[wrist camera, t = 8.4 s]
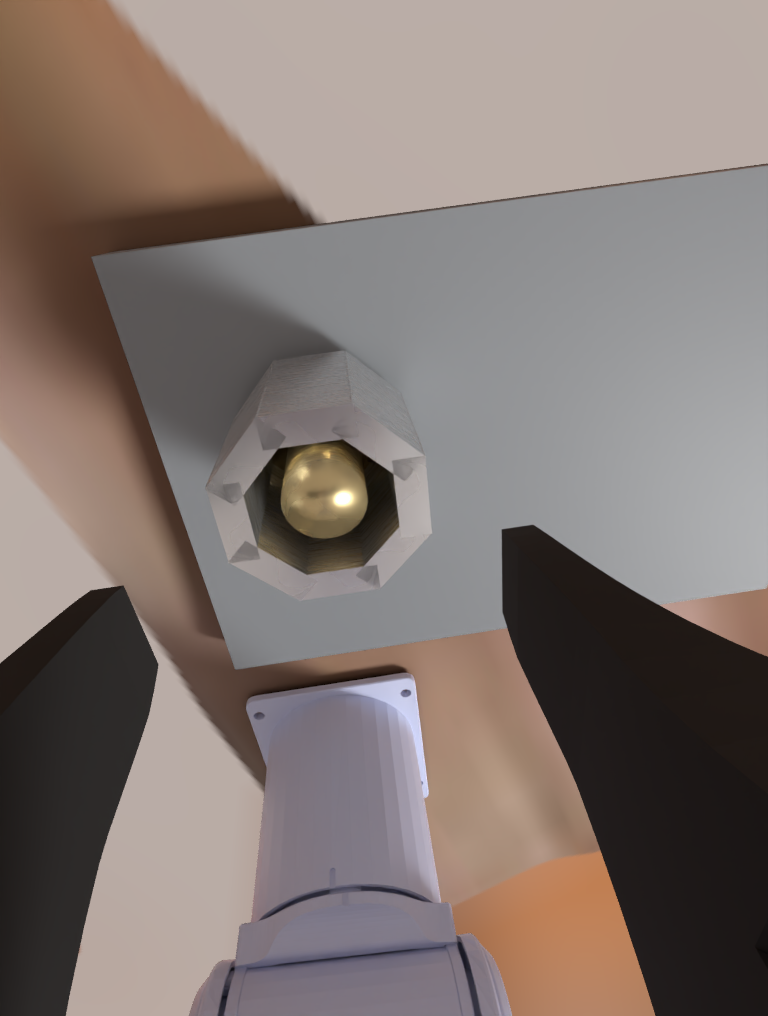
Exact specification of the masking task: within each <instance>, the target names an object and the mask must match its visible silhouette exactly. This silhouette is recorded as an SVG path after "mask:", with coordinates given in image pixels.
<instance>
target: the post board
mask: <svg viewBox="0 0 768 1016" xmlns="http://www.w3.org/2000/svg"><path fill="white" fill-rule="evenodd" d="M91 258H92V261H93V263H94V266H95V269H96V272H97V275H98V278H99V281H100V283H101V286H102V289H103V292H104V295H105V298H106V301H107V304H108V306H109V309H110V312H111V315H112V318H113V321H114V324H115V326H116V329H117V332H118V335H119V338H120V341H121V344H122V347H123V349H124V352H125V355H126V358H127V361H128V364H129V367H130V369H131V372H132V375H133V378H134V381H135V384H136V387H137V390H138V392H139V395H140V398H141V401H142V404H143V407H144V410H145V412H146V415H147V418H148V421H149V424H150V427H151V430H152V433H153V435H154V438H155V441H156V444H157V447H158V450H159V453H160V455H161V458H162V461H163V464H164V467H165V470H166V473H167V476H168V478H169V481H170V484H171V487H172V490H173V493H174V496H175V498H176V501H177V504H178V507H179V510H180V513H181V516H182V519H183V521H184V524H185V527H186V530H187V533H188V536H189V539H190V541H191V544H192V547H193V550H194V553H195V556H196V559H197V562H198V564H199V567H200V570H201V573H202V576H203V579H204V582H205V584H206V587H207V590H208V593H209V596H210V599H211V602H212V605H213V607H214V610H215V613H216V616H217V619H218V622H219V625H220V627H221V630H222V633H223V636H224V639H225V642H226V645H227V648H228V650H229V653H230V656H231V659H232V662H233V665H234V668H235V670H237V669H244V668H250V667H257V666H263V665H270V664H276V663H283V662H289V661H296V660H302V659H309V658H315V657H322V656H329V655H335V654H342V653H348V652H355V651H361V650H368V649H374V648H381V647H387V646H394V645H400V644H407V643H413V642H420V641H426V640H433V639H439V638H446V637H452V636H459V635H465V634H472V633H478V632H485V631H491V630H498V629H504V628H507V625H506V622H505V619H504V615H503V612H502V529H507V528H514V527H520V526H527V525H535V526H536V527H538V528H539V529H541V530H542V531H544V532H545V533H547V534H548V535H550V536H551V537H553V538H554V539H555V540H557V541H558V542H560V543H561V544H563V545H564V546H566V547H567V548H568V549H570V550H571V551H573V552H574V553H576V554H577V555H579V556H580V557H582V558H583V559H585V560H586V561H588V562H589V563H591V564H592V565H594V566H595V567H597V568H598V569H600V570H601V571H603V572H604V573H606V574H607V575H609V576H611V577H612V578H614V579H615V580H617V581H619V582H620V583H622V584H624V585H625V586H627V587H628V588H630V589H632V590H633V591H635V592H637V593H639V594H640V595H642V596H644V597H646V598H647V599H649V600H651V601H653V602H654V603H656V604H658V605H661V604H667V603H674V602H680V601H687V600H693V599H700V598H706V597H713V596H719V595H726V594H732V593H739V592H745V591H752V590H758V589H765V588H766V587H767V584H768V164H761V165H754V166H746V167H739V168H732V169H724V170H716V171H709V172H702V173H695V174H687V175H679V176H672V177H665V178H658V179H650V180H643V181H635V182H628V183H620V184H613V185H606V186H598V187H591V188H583V189H576V190H569V191H561V192H553V193H546V194H538V195H531V196H525V197H516V198H509V199H501V200H494V201H487V202H480V203H472V204H464V205H457V206H450V207H442V208H436V209H427V210H420V211H412V212H405V213H397V214H390V215H383V216H375V217H368V218H360V219H353V220H345V221H338V222H331V223H323V224H316V225H308V226H301V227H294V228H286V229H279V230H271V231H264V232H256V233H249V234H242V235H234V236H227V237H219V238H212V239H204V240H197V241H190V242H182V243H175V244H167V245H160V246H153V247H145V248H138V249H130V250H123V251H115V252H109V253H105V254H101V255H97V256H92V257H91ZM342 350H346V351H347V352H349V353H350V354H351V355H352V356H354V357H355V358H356V359H358V360H359V361H360V362H362V363H363V364H364V365H366V366H367V367H368V368H370V369H371V370H372V371H374V372H375V373H376V374H377V375H379V376H380V377H381V378H383V379H384V380H385V381H387V382H388V383H389V384H391V385H392V386H393V387H395V388H396V389H397V390H398V391H400V392H401V394H402V396H403V399H404V401H405V404H406V407H407V409H408V412H409V414H410V417H411V419H412V422H413V424H414V427H415V430H416V432H417V435H418V437H419V440H420V442H421V445H422V447H423V450H424V453H425V455H426V469H427V481H428V493H429V504H430V516H431V528H432V534H431V535H430V536H429V537H428V538H427V539H426V540H425V541H424V542H423V543H422V544H421V545H420V546H419V547H418V549H417V550H416V551H415V552H414V553H413V554H412V555H411V556H410V557H409V558H408V559H407V560H406V561H405V562H404V564H403V565H402V566H401V567H400V568H399V569H398V570H397V571H396V572H395V573H394V574H393V575H392V576H391V577H390V579H389V580H388V581H387V582H386V583H385V584H384V585H383V586H382V587H381V589H376V590H369V591H362V592H356V593H349V594H342V595H336V596H329V597H322V598H315V599H309V600H302V601H299V600H298V599H296V598H294V597H292V596H290V595H288V594H286V593H284V592H283V591H281V590H279V589H277V588H275V587H273V586H271V585H269V584H268V583H266V582H264V581H262V580H260V579H258V578H256V577H254V576H253V575H251V574H249V573H247V572H245V571H243V570H241V569H239V568H238V567H236V566H234V565H232V564H229V563H228V558H227V555H226V552H225V549H224V546H223V542H222V539H221V536H220V533H219V529H218V526H217V523H216V520H215V517H214V513H213V510H212V507H211V504H210V501H209V497H208V494H207V491H206V489H205V487H206V484H207V482H208V480H209V477H210V475H211V472H212V470H213V468H214V465H215V463H216V460H217V458H218V456H219V453H220V451H221V448H222V446H223V444H224V441H225V439H226V436H227V434H228V432H229V429H230V427H231V424H232V422H233V420H234V417H235V415H236V414H237V413H238V411H239V410H240V408H241V407H242V405H243V404H244V403H245V401H246V400H247V398H248V397H249V395H250V394H251V392H252V391H253V390H254V388H255V387H256V385H257V384H258V382H259V381H260V379H261V378H262V376H263V375H264V374H265V372H266V371H267V369H268V368H269V366H270V365H271V363H272V362H273V360H274V359H275V360H277V359H284V358H291V357H299V356H306V355H313V354H320V353H327V352H335V351H342ZM272 459H273V463H274V464H275V465H276V466H278V467H279V468H281V469H282V470H284V471H285V472H284V479H283V486H282V492H281V508H282V511H283V514H284V516H285V518H286V519H287V521H288V522H289V523H290V524H291V526H293V527H294V528H295V529H296V530H298V531H299V532H301V533H303V534H305V535H307V536H310V537H314V538H334V537H338V536H341V535H343V534H346V533H348V532H349V531H351V530H352V529H353V528H355V527H356V526H357V525H358V524H359V523H360V521H361V520H362V518H363V517H364V515H365V512H366V509H367V503H368V498H367V490H366V483H365V476H364V470H365V468H366V467H367V466H368V465H369V463H370V462H371V461H372V460H373V459H371V458H370V457H368V456H367V455H365V454H364V453H362V452H361V451H359V450H358V449H356V448H355V447H354V446H352V445H351V444H349V443H348V442H346V441H345V440H343V439H341V440H334V441H327V442H320V443H313V444H306V445H299V446H292V447H285V448H278V449H277V451H276V452H275V453H274V455H273V456H272Z"/></svg>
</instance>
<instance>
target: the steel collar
mask: <svg viewBox="0 0 768 1016" xmlns="http://www.w3.org/2000/svg"><path fill="white" fill-rule="evenodd" d="M341 439H343V440H345V441H346V442H348V443H349V444H351V445H352V446H354V447H355V448H356V449H358V450H359V451H361V452H362V453H364V454H365V455H367V456H368V457H370V458H371V459H373V460H372V461H371V462H370V463H369V465H368V466H367V467H366V468H365V470H364V476H365V483H366V490H367V498H368V503H367V509H366V512H365V515H364V517H363V518H362V520H361V521H360V523H359V524H358V525H357V526H356V527H355V528H353V529H352V530H351V531H349V532H348V533H346V534H343V535H341V536H338V537H334V538H314V537H310V536H307V535H305V534H303V533H301V532H299V531H298V530H296V529H295V528H294V527H293V526H291V524H290V523H289V522H288V521H287V519H286V518H285V516H284V514H283V511H282V508H281V492H282V486H283V479H284V472H285V471H284V470H282V469H281V468H279V467H278V466H276V465H275V464H274V463H273V459H272V456H273V455H274V453H275V452H276V451H277V449H278V448H285V447H292V446H299V445H306V444H313V443H320V442H327V441H334V440H341ZM205 489H206V491H207V494H208V497H209V501H210V504H211V507H212V510H213V513H214V517H215V520H216V523H217V526H218V529H219V533H220V536H221V539H222V542H223V546H224V549H225V552H226V555H227V558H228V563H229V564H232V565H234V566H236V567H238V568H239V569H241V570H243V571H245V572H247V573H249V574H251V575H253V576H254V577H256V578H258V579H260V580H262V581H264V582H266V583H268V584H269V585H271V586H273V587H275V588H277V589H279V590H281V591H283V592H284V593H286V594H288V595H290V596H292V597H294V598H296V599H298V600H299V601H302V600H309V599H315V598H322V597H329V596H336V595H342V594H349V593H356V592H362V591H369V590H376V589H381V587H382V586H383V585H384V584H385V583H386V582H387V581H388V580H389V579H390V577H391V576H392V575H393V574H394V573H395V572H396V571H397V570H398V569H399V568H400V567H401V566H402V565H403V564H404V562H405V561H406V560H407V559H408V558H409V557H410V556H411V555H412V554H413V553H414V552H415V551H416V550H417V549H418V547H419V546H420V545H421V544H422V543H423V542H424V541H425V540H426V539H427V538H428V537H429V536H430V535H431V534H432V528H431V516H430V504H429V493H428V481H427V469H426V455H425V453H424V450H423V447H422V445H421V442H420V440H419V437H418V435H417V432H416V430H415V427H414V424H413V422H412V419H411V417H410V414H409V412H408V409H407V407H406V404H405V401H404V399H403V396H402V394H401V392H400V391H398V390H397V389H396V388H395V387H393V386H392V385H391V384H389V383H388V382H387V381H385V380H384V379H383V378H381V377H380V376H379V375H377V374H376V373H375V372H374V371H372V370H371V369H370V368H368V367H367V366H366V365H364V364H363V363H362V362H360V361H359V360H358V359H356V358H355V357H354V356H352V355H351V354H350V353H349V352H347V351H346V350H342V351H335V352H327V353H320V354H313V355H306V356H299V357H291V358H284V359H277V360H275V359H274V360H273V362H272V363H271V365H270V366H269V368H268V369H267V371H266V372H265V374H264V375H263V376H262V378H261V379H260V381H259V382H258V384H257V385H256V387H255V388H254V390H253V391H252V392H251V394H250V395H249V397H248V398H247V400H246V401H245V403H244V404H243V405H242V407H241V408H240V410H239V411H238V413H237V414H236V415H235V417H234V420H233V422H232V424H231V427H230V429H229V432H228V434H227V436H226V439H225V441H224V444H223V446H222V448H221V451H220V453H219V456H218V458H217V460H216V463H215V465H214V468H213V470H212V472H211V475H210V477H209V480H208V482H207V484H206V487H205Z"/></svg>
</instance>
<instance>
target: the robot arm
mask: <svg viewBox="0 0 768 1016" xmlns="http://www.w3.org/2000/svg"><path fill="white" fill-rule="evenodd" d="M502 612H503V615H504V619H505V622H506V625H507V628H508V631H509V634H510V637H511V640H512V643H513V646H514V649H515V652H516V655H517V658H518V660H519V662H520V664H521V667H522V669H523V671H524V673H525V675H526V677H527V679H528V681H529V684H530V686H531V688H532V690H533V692H534V694H535V696H536V698H537V700H538V703H539V705H540V707H541V709H542V711H543V713H544V715H545V717H546V719H547V721H548V723H549V726H550V728H551V730H552V732H553V734H554V736H555V738H556V740H557V742H558V744H559V746H560V749H561V751H562V753H563V755H564V757H565V759H566V761H567V763H568V766H569V768H570V770H571V773H572V775H573V777H574V780H575V782H576V784H577V787H578V789H579V792H580V795H581V798H582V800H583V803H584V806H585V809H586V811H587V814H588V817H589V820H590V822H591V825H592V828H593V831H594V833H595V836H596V839H597V841H598V844H599V847H600V850H601V853H602V856H603V859H604V861H605V864H606V867H607V870H608V873H609V876H610V879H611V881H612V884H613V887H614V890H615V893H616V896H617V899H618V902H619V905H620V907H621V910H622V914H623V916H624V920H625V922H626V926H627V929H628V932H629V935H630V938H631V941H632V944H633V947H634V949H635V953H636V956H637V959H638V962H639V965H640V968H641V971H642V974H643V977H644V980H645V983H646V987H647V990H648V993H649V996H650V999H651V1002H652V1006H653V1009H654V1012H655V1015H656V1016H768V657H767V656H764V655H762V654H759V653H757V652H754V651H752V650H750V649H748V648H745V647H743V646H741V645H738V644H736V643H734V642H732V641H729V640H727V639H725V638H723V637H721V636H719V635H717V634H715V633H713V632H711V631H708V630H706V629H704V628H702V627H700V626H698V625H696V624H694V623H692V622H690V621H688V620H686V619H684V618H682V617H680V616H678V615H676V614H674V613H672V612H670V611H669V610H667V609H665V608H663V607H661V606H660V605H658V604H656V603H654V602H653V601H651V600H649V599H647V598H646V597H644V596H642V595H640V594H639V593H637V592H635V591H633V590H632V589H630V588H628V587H627V586H625V585H624V584H622V583H620V582H619V581H617V580H615V579H614V578H612V577H611V576H609V575H607V574H606V573H604V572H603V571H601V570H600V569H598V568H597V567H595V566H594V565H592V564H591V563H589V562H588V561H586V560H585V559H583V558H582V557H580V556H579V555H577V554H576V553H574V552H573V551H571V550H570V549H568V548H567V547H566V546H564V545H563V544H561V543H560V542H558V541H557V540H555V539H554V538H553V537H551V536H550V535H548V534H547V533H545V532H544V531H542V530H541V529H539V528H538V527H536V526H535V525H527V526H520V527H514V528H507V529H502ZM157 669H158V663H157V660H156V658H155V656H154V653H153V651H152V649H151V647H150V644H149V642H148V640H147V638H146V635H145V633H144V631H143V629H142V626H141V624H140V622H139V620H138V617H137V615H136V613H135V611H134V608H133V606H132V604H131V601H130V599H129V597H128V595H127V592H126V590H125V588H124V586H117V587H111V588H104V589H98V590H91V591H90V592H88V593H87V594H85V595H84V596H82V597H81V598H80V599H78V600H77V601H76V602H74V603H73V604H72V605H70V606H69V607H68V608H67V609H65V610H64V611H63V612H62V613H60V614H59V615H58V616H57V617H56V618H55V619H53V620H52V621H51V622H50V623H48V624H47V625H46V626H45V627H43V628H42V629H41V630H40V631H39V632H37V633H36V634H35V635H34V636H33V637H31V638H30V639H29V640H28V641H27V642H25V644H23V645H22V646H21V647H19V648H18V649H17V650H16V651H15V652H13V653H12V654H11V655H10V656H8V657H7V658H6V659H5V660H4V661H3V662H1V663H0V1016H66V1011H67V1006H68V1000H69V995H70V990H71V986H72V980H73V976H74V971H75V967H76V962H77V957H78V953H79V948H80V943H81V939H82V934H83V928H84V925H85V920H86V916H87V912H88V908H89V904H90V899H91V895H92V891H93V887H94V883H95V879H96V875H97V870H98V866H99V862H100V859H101V856H102V852H103V849H104V846H105V843H106V839H107V836H108V833H109V830H110V827H111V824H112V821H113V818H114V816H115V812H116V810H117V807H118V804H119V801H120V798H121V795H122V792H123V790H124V787H125V784H126V781H127V778H128V775H129V772H130V769H131V766H132V764H133V761H134V758H135V755H136V752H137V749H138V746H139V743H140V740H141V737H142V734H143V731H144V728H145V725H146V722H147V719H148V715H149V712H150V707H151V702H152V697H153V693H154V687H155V681H156V676H157ZM405 689H407V690H406V691H402V690H405ZM246 711H247V714H248V716H249V719H250V722H251V725H252V728H253V731H254V733H255V736H256V739H257V742H258V745H259V748H260V750H261V753H262V756H263V759H264V762H265V765H266V767H267V772H266V782H265V792H264V802H263V812H262V821H261V831H260V841H259V850H258V860H257V870H256V880H255V889H254V900H253V909H252V918H251V923H245V924H242V925H241V926H240V927H239V935H238V943H237V952H236V959H234V960H222V961H220V962H219V963H217V964H216V966H215V967H214V968H213V970H212V972H211V973H210V976H209V977H208V978H207V979H206V981H205V982H204V983H203V985H202V986H201V987H200V989H199V991H198V992H197V994H196V996H195V999H194V1001H193V1004H192V1007H191V1010H190V1014H189V1016H512V1013H511V1009H510V1006H509V1001H508V998H507V994H506V991H505V988H504V984H503V981H502V978H501V975H500V972H499V970H498V967H497V965H496V963H495V960H494V959H493V957H492V956H491V954H490V953H489V952H488V951H487V950H486V949H485V948H484V947H483V946H482V945H481V944H480V942H479V941H478V939H477V938H476V937H475V936H474V935H473V934H470V933H468V934H461V935H456V932H455V926H454V920H453V915H452V909H451V904H450V903H448V902H445V903H441V899H440V892H439V886H438V880H437V874H436V868H435V862H434V856H433V850H432V844H431V838H430V832H429V826H428V820H427V814H426V807H425V801H424V798H426V797H427V796H428V793H429V791H428V783H427V775H426V767H425V759H424V751H423V743H422V735H421V727H420V719H419V711H418V703H417V695H416V686H415V680H414V677H413V676H412V675H411V674H409V673H399V674H392V675H386V676H379V677H373V678H366V679H360V680H353V681H347V682H341V683H334V684H328V685H321V686H315V687H308V688H302V689H295V690H289V691H282V692H276V693H269V694H263V695H257V696H253V697H250V698H249V699H248V701H247V704H246ZM257 712H261V713H257Z"/></svg>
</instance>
